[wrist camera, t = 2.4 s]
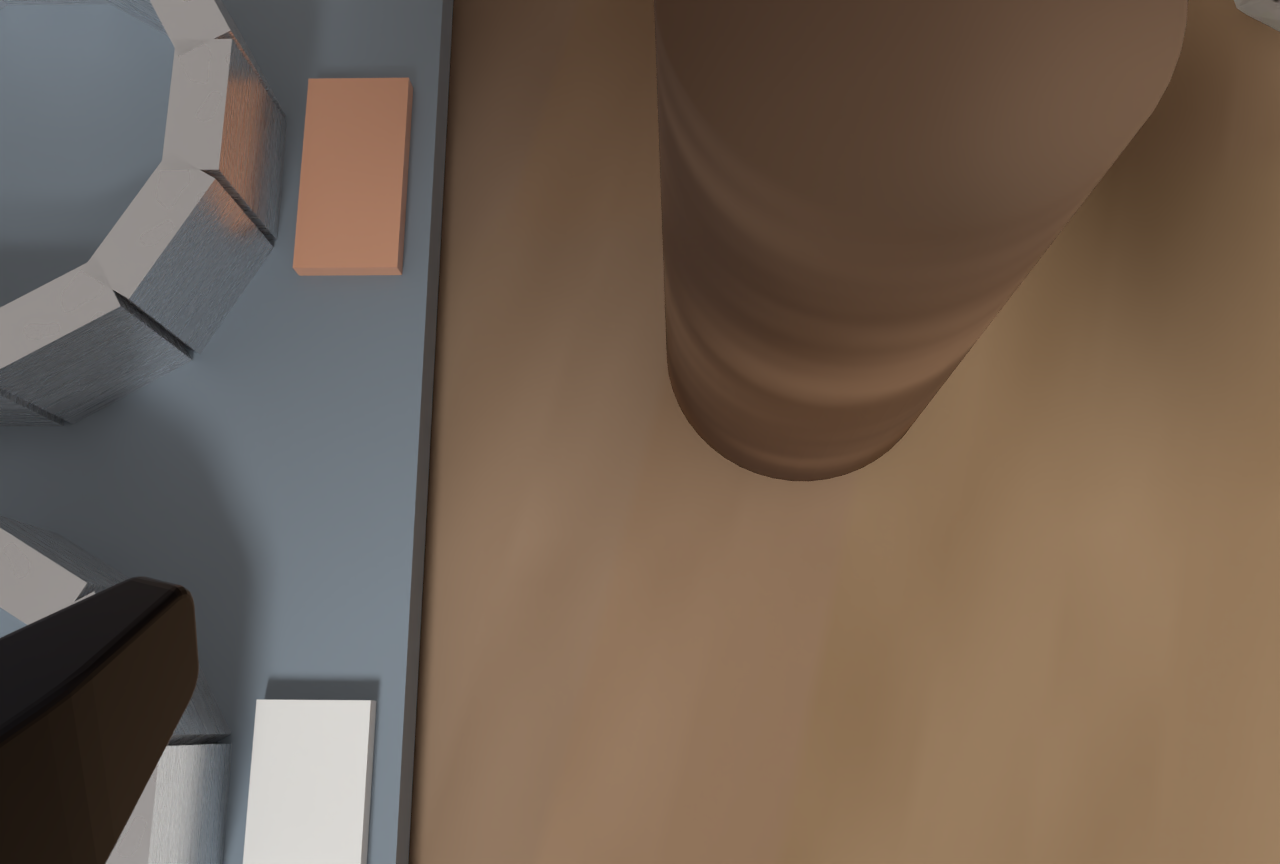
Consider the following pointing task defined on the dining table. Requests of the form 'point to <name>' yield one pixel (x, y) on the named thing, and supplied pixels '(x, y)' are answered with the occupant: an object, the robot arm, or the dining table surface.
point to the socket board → (232, 385)
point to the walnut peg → (872, 197)
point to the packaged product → (1262, 11)
